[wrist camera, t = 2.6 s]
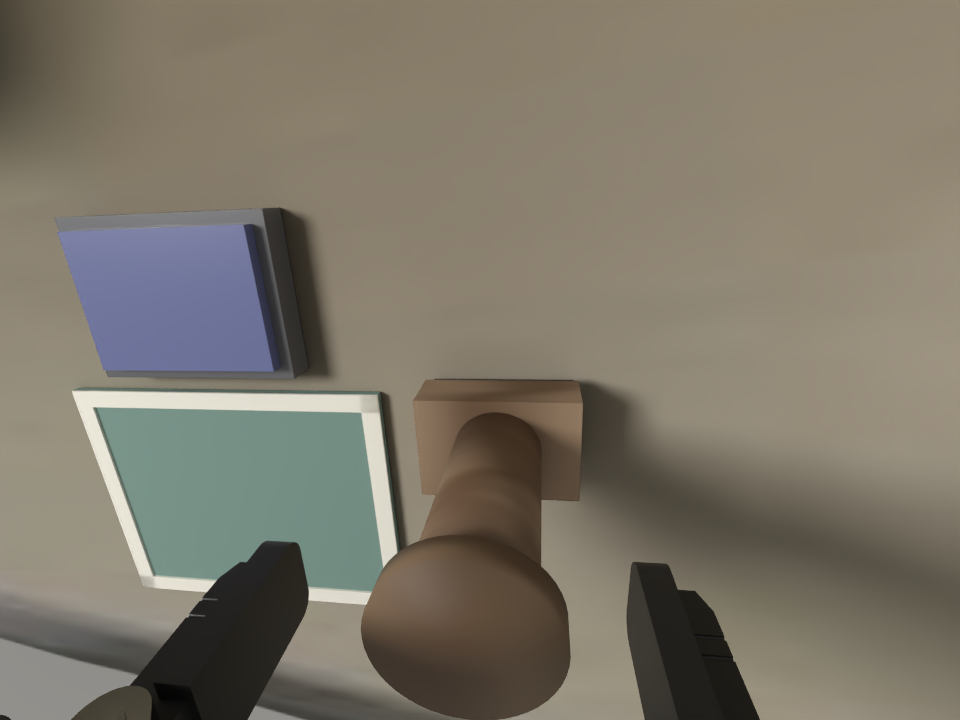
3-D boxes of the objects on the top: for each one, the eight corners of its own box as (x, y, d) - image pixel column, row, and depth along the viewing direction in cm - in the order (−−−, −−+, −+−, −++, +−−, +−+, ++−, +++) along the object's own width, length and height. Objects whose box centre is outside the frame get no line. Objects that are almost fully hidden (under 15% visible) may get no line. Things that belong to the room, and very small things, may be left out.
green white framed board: (380, 392, 20) (376, 395, 19) (406, 601, 23) (404, 607, 23) (80, 387, 22) (71, 391, 21) (149, 581, 25) (144, 587, 25)
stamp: (577, 370, 18) (617, 573, 8) (574, 467, 20) (605, 734, 10) (429, 369, 19) (309, 554, 9) (437, 462, 20) (341, 705, 11)
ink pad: (280, 207, 17) (253, 209, 16) (308, 368, 20) (288, 383, 18) (83, 216, 19) (41, 218, 17) (131, 366, 21) (97, 381, 19)
